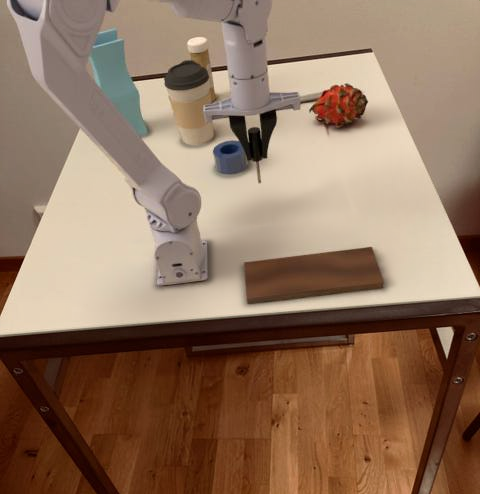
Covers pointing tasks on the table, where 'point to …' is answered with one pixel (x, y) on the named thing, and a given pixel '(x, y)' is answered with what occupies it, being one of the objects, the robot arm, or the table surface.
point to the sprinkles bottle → (202, 58)
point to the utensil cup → (230, 157)
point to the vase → (116, 78)
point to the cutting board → (312, 275)
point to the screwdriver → (255, 148)
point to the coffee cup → (190, 100)
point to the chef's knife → (311, 97)
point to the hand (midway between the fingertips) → (256, 156)
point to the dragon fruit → (340, 105)
